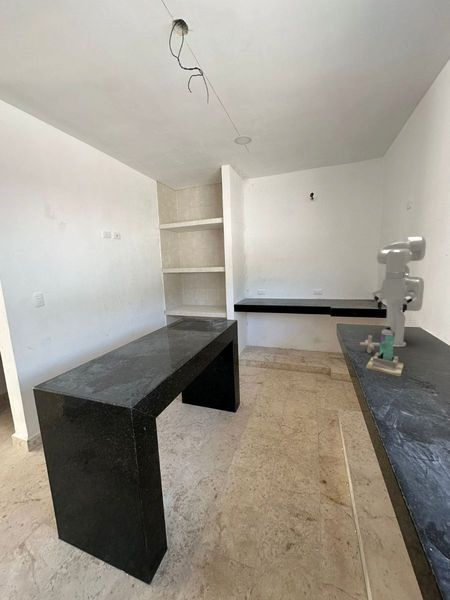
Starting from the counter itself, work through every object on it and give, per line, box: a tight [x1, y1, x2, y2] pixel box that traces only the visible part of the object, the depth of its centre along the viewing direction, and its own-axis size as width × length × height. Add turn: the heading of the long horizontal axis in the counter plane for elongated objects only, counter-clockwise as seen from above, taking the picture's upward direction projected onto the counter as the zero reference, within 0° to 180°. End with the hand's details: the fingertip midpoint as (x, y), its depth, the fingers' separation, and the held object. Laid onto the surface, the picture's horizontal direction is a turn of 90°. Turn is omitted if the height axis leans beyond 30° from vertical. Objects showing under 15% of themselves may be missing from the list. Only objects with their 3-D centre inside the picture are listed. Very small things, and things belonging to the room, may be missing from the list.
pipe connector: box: [359, 335, 380, 354], centre depth 140 cm, size 10×10×10 cm
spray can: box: [379, 325, 395, 361], centre depth 121 cm, size 6×6×20 cm
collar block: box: [365, 352, 405, 377], centre depth 122 cm, size 14×14×5 cm
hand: (391, 310), depth 119 cm, fingers open, 9 cm apart
